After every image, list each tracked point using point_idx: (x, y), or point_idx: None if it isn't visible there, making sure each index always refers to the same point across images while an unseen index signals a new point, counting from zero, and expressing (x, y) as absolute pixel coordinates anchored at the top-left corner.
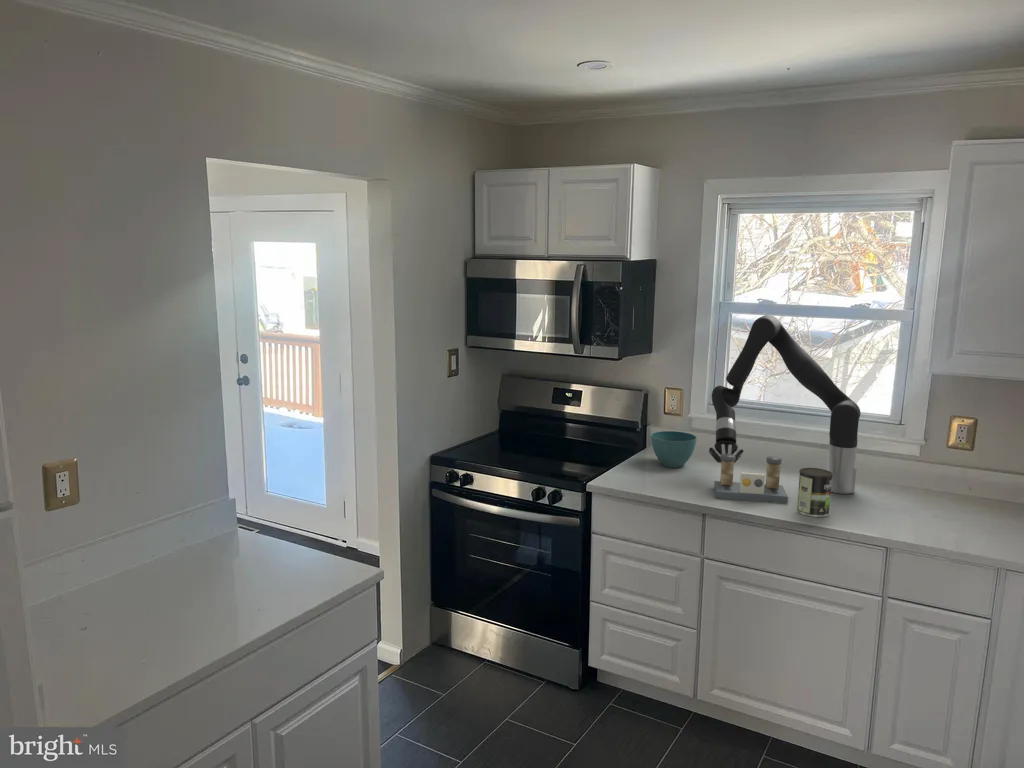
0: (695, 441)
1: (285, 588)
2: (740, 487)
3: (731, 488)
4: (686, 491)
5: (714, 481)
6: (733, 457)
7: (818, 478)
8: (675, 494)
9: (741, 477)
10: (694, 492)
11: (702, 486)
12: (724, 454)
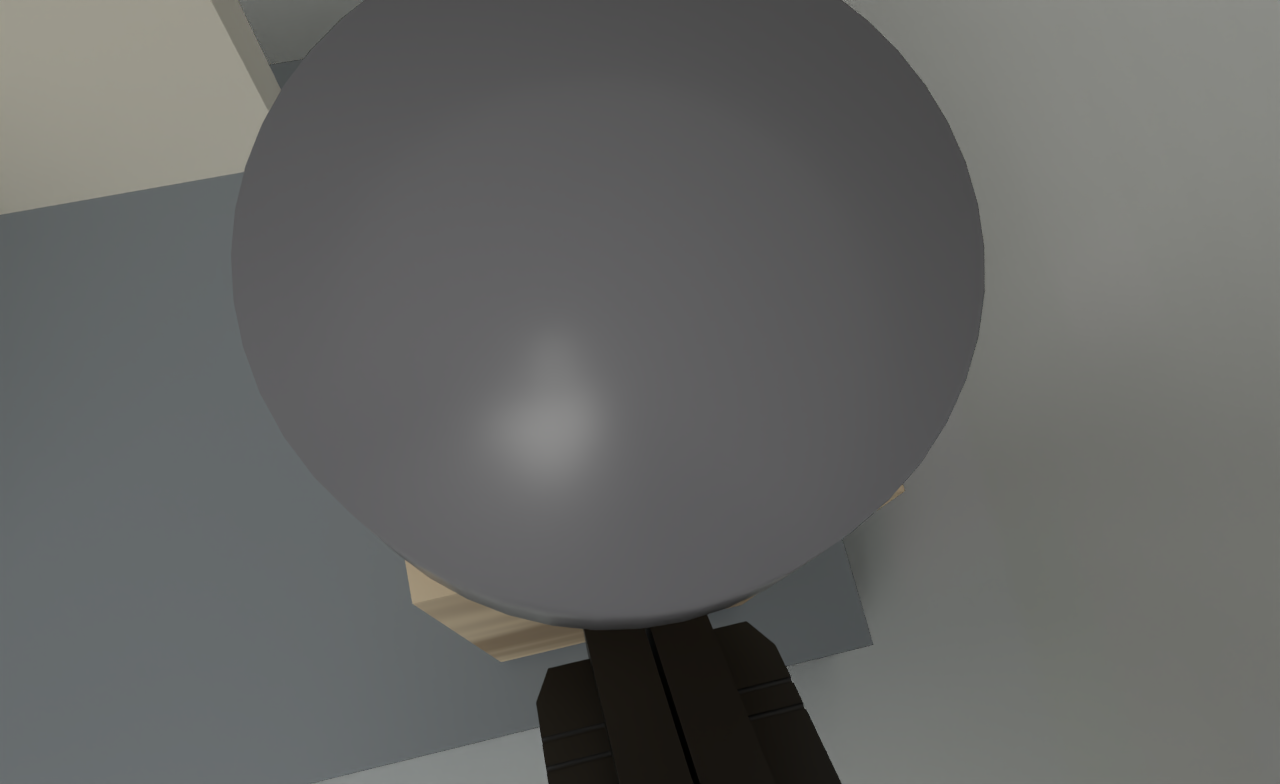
0: None
1: None
2: (250, 38)
3: None
4: (1181, 214)
5: (864, 621)
6: (321, 45)
7: None
8: (1262, 18)
9: None
10: (1054, 218)
11: (1044, 612)
12: (821, 358)
